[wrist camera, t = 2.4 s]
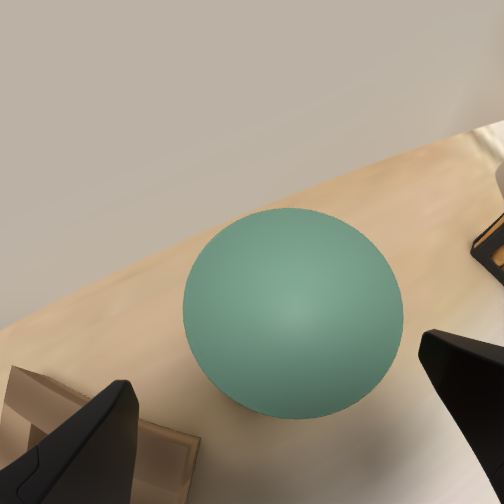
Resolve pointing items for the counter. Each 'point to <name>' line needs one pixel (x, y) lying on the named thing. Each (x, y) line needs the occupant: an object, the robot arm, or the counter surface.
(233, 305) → the peg
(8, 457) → the socket block
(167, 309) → the counter surface
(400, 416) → the counter surface
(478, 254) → the ammunition clip
